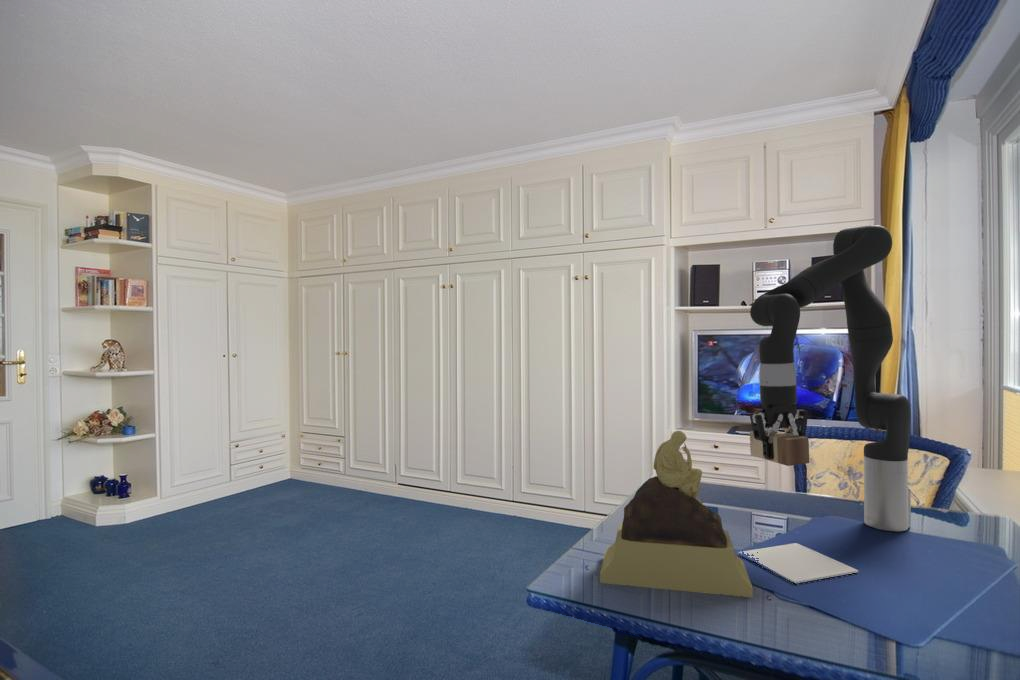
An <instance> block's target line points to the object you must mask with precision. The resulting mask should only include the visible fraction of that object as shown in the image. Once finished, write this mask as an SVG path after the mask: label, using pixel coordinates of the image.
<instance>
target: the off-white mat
mask: <svg viewBox="0 0 1020 680" xmlns="http://www.w3.org/2000/svg"><path fill="white" fill-rule="evenodd" d="M742 551H743V550H742ZM742 551H738V554H739V553H741V554H742ZM743 552H744V554H746V555H747V553H748V554H749V555H750V556H748V557H750V558H752V557H753V558H755V560H759V561H758V562H759V563H760V564H763V565H764V566H766V567H768V568H769V569H771V570H773V571H775V572H776V573H778V574H779V575H781V576H783V577H785V578H786V579H788V580H790V581H791V582H794V583H800V582H807V581H812V580H817V579H823V578H829V577H834V576H839V575H845V574H852V573H857V572H858V573H859V570H858V569H856V568H854V567H852V566H849V565H847V564H845V563H843V562H841V561H838V560H836V559H833V558H831V557H829V556H827V555H825V554H822V553H820V552H818V551H816V550H813V549H811V548H809V547H807V546H804V545H802V544H800V543H797V542H794V543H787V544H781V545H775V546H769V547H763V548H756V549H749V550H744V551H743ZM757 552H758V553H757ZM752 554H753V555H754V556H751V555H752ZM756 558H759V559H756ZM756 562H757V561H756ZM858 573H857V574H858ZM852 575H853V574H852ZM791 582H790V583H791Z"/></svg>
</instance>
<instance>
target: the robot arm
mask: <svg viewBox="0 0 1020 680" xmlns="http://www.w3.org/2000/svg"><path fill="white" fill-rule="evenodd" d="M832 245H833V246H832V247H833V248H832V250H833V251H832V252H833V256H831V257H829V258H826V259H824V260H821V261H819V262H817V263H815V264H813V265H811V266H808V267H807V268H805V269H803V270H802V271H800V272H799V273H798V274H796V275H795V276H793V277H792V278H791V279H789V280H788V281H787V282H785V283H783V284H781V285H779V286H777V287H775V288H772V289H771V290H768V291H766V292H765V293H762V294H761V295H760V296H758V297H757V298H756V299H755V300H754V301H753V303H752V304H751V306H750V311H749V312H750V314H749V315H750V318H751V320H752V321H753V322H754V324H757V325H759V326H762V327H772V328H771V332H770V335H768V336H767V337H766V336H765V337H763V338H762V339H760V341H759V345H758V346H759V374H758V377H759V378H758V379H759V396H760V398H759V400H760V403H761V405H762V409H761V410H760V411H761V412H759V413H751V414H750V415H749V418H750V423H751V424H750V425H751V429H752V431H753V434H754V438H755V439H756V440H760V441H762V443H763V455H764V456H765V458H766V459H769V460H773V459H774V448H773V443H772V442H773V437H774V436H775V434H777V432H778V431H779V430H781V429H782V430H783V432H785V433H789V434H793V435H799V436H804V437H807V427H808V419H809V418H808V417H809V412H808V410H805V409H797V408H796V404H797V403H798V395H797V394H798V393H797V392H798V388H797V373H796V371H797V370H796V367H795V355H794V348H795V347H794V344H795V343H794V342H795V339H796V335H797V332H798V327H799V324H800V319H801V309H802V308H806V307H807V306H809V305H811V304H812V303H813V302H815V301H816V300H818V299H819V298H820V297H821V296H823V295H824V294H825V293H827V292H828V291H829V290H831V289H832V288H834V287H836V286H837V285H839V284H840V287H841V290H842V297H843V302H844V303H843V304H844V309H845V316H846V327H847V333H848V335H847V336H848V341H849V347H850V352H851V353H850V354H851V361H852V369H853V382H854V383H853V384H854V385H853V388H854V389H853V390H854V409H855V415H856V419H857V422H858V424H859V425H860V426H862V427H863V428H866V429H871V430H872V429H873V430H879V431H886V435H885V438H883V439H882V440H878V441H874V442H868V443H866V444H864V446H863V512H864V513H863V519H864V521H863V523H864V524H865V525H866V526H868V527H871V528H874V529H877V530H880V531H888V532H904V531H908V529H909V528H911V527H912V515H911V513H912V510H911V509H912V503H911V502H912V501H911V500H912V499H911V496H912V495H911V492H912V491H911V488H909V465H908V464H909V463H908V462H909V460H908V459H909V458H908V457H909V455H908V454H909V449H910V436H911V434H910V433H911V420H912V418H911V415H912V410H911V404H910V402H909V399H908V398H907V396H905V395H902V394H897V393H883V392H877V390H876V375H877V372H878V371H879V369H880V367H881V365H882V363H883V362H884V360H885V359H886V356H888V354H889V352H890V350H891V349H892V346H893V342H894V333H893V329H892V327H893V326H892V319H891V316H890V313H889V311H888V309H887V308H886V306H885V305H884V303H883V302H882V301H881V300H880V299H879V296H877V295H876V293H875V292H874V291H873V289H872V288H871V287H870V285H869V283H868V282H867V278H866V274H865V270H866V269H868V268H870V267H872V266H875V265H876V264H878V263H881V262H882V261H884V260H885V259H886V258H888V256H889V254H890V253H891V251H892V247H893V237H892V234H891V232H890V231H889V229H887V228H886V227H885V226H882V225H879V224H876V225H875V224H868V225H861V226H855V227H849V228H843V229H840V230H839V231H838V232H837V233H836V235H835V236H834V239H833V244H832ZM768 434H769V435H768ZM767 436H768V437H767ZM769 460H768V461H769Z"/></svg>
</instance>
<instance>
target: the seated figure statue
mask: <svg viewBox="0 0 1020 680" xmlns="http://www.w3.org/2000/svg"><path fill="white" fill-rule="evenodd" d="M686 441H687V435H686V433H684V432H683V431H682V430H675V431H674V432H672V434H671V436H670V438H669V439H668V440H666V441H664V442H662V443H661V444H660V445H659V446H658V448H657V450H656V452H655V456H654V460H653V469H654V470H655V473H656V476H652V477H650V478H648V479H647V480H646V481H645V482H643V484H642V485H641V486H640V487H639V488H638V489H637V490H636V492H635V494H634V496H633V497H632V499H631V500H629V502H628V503H627V504H626V506H625V507H624V508H623V519H622V522H619V523H618V526H617V527H618V528H617V532H616V536H615V540H614V543H613V544H612V545H611V546H609V547H608V548H607V549H605V551H604V554H603V555H604V556H603V559H602V562H601V563H602V564H601V569H600V571H599V583H600V584H609V585H617V584H618V585H619V586H627V585H629V586H628V587H638V588H639V587H641V588H649V589H659V590H672V591H680V592H681V591H682V592H689V593H692V592H693V593H700V594H701V593H702V594H711V595H720V594H723V595H722V596H730V595H732V596H734V597H741V596H743V598H752V599H753V598H754V596H753V593H754V590H753V585H752V582H751V580H750V579H751V578H750V576H749V574H748V570H747V568H746V565H745V562H744V560H742V559H741V558H740V557H738V556H737V554H735V548H734V546H733V543H732V539H731V536H730V534H729V531H728V530H724V527H723V523H722V518H721V516H720V514H718V513H716V512H714V511H713V510H712V509H710V508H709V507H707V506H706V505H704V504H703V503H704V502H703V501H701V500H700V499H698V498H697V496H698V493H699V492H700V486H701V480H702V475H703V471H702V469H699V468H693V461H692V455H691V452H690V450H689V449H688V447H687V445H686V443H685V442H686ZM683 444H684V446H683V447H682V445H683ZM680 449H682V451H683V452H684V453H685V454H686V456H687V459H685V458H684V456H683V455H684V454H683V453H682V452H681V451H680ZM732 596H731V597H732Z"/></svg>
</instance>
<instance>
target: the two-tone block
mask: <svg viewBox="0 0 1020 680" xmlns="http://www.w3.org/2000/svg"><path fill="white" fill-rule="evenodd" d="M768 435H769V434H768ZM767 437H768V436H767ZM809 442H810V441H809V437H808V436H805V437H804V436H799V435H793V434H789V433H785V431H779V430H778V432H777V434H775V436H774V437H773V442H772V443H773V448H774V459H773V460H769V459H766V458H765V456H764V455H763V443H762V441H760V440H756V439H755V438H754V434H753V430H751V431H749V445H750V449H749V450H750V456H751V457H755V458H759V459H762V460H766V461H769V462H773V463H776V464H778V465H779V464H780V465H784V466H787V467H790V466H797V465H806V464H810V447H809V446H810V445H809Z"/></svg>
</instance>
